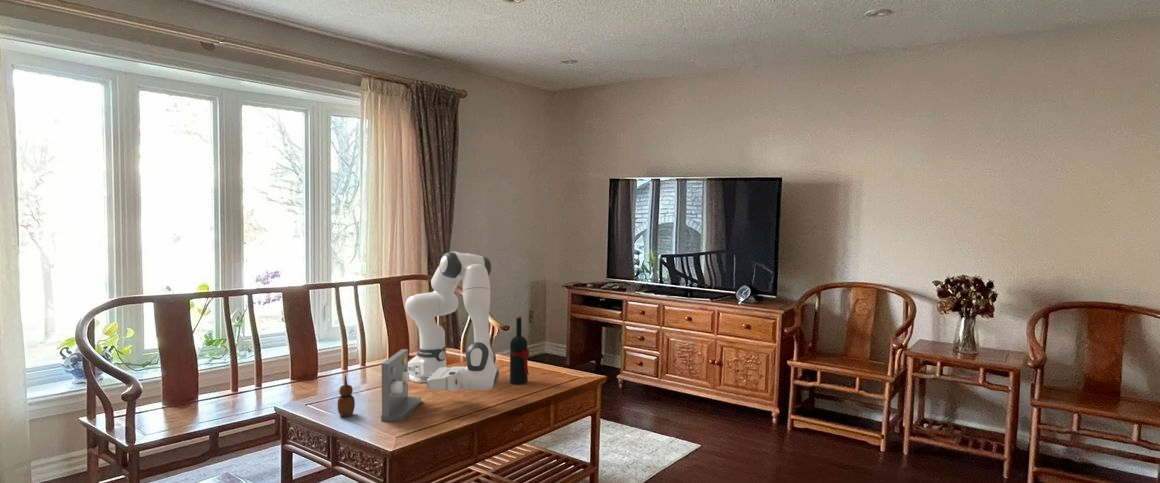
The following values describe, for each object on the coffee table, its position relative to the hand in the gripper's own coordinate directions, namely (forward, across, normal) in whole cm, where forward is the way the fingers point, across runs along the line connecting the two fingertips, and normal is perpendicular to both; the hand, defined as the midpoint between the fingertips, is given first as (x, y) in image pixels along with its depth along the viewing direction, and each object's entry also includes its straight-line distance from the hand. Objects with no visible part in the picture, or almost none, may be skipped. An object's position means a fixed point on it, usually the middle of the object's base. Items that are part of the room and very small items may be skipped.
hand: (421, 377), depth 257 cm
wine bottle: (-34, -36, +11) cm, 51 cm away
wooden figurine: (+24, +13, +11) cm, 30 cm away
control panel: (+5, +7, +11) cm, 14 cm away
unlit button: (+5, +14, +2) cm, 15 cm away
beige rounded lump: (+7, 0, +2) cm, 7 cm away
